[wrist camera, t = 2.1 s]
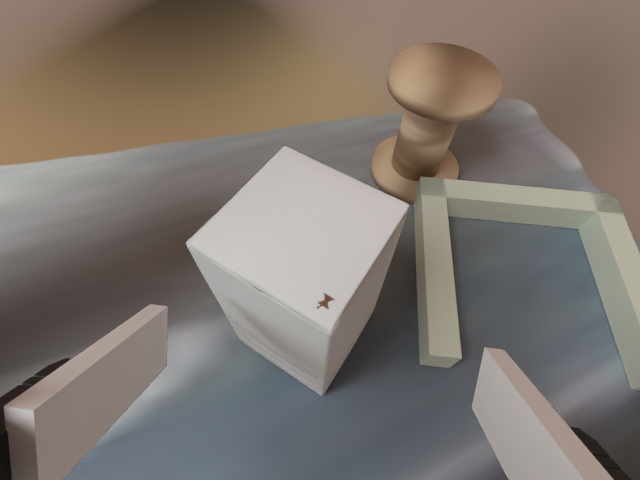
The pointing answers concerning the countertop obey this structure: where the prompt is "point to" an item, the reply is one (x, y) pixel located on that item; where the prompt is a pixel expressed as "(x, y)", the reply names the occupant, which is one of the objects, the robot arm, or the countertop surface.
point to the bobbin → (431, 113)
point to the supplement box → (300, 262)
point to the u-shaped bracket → (526, 208)
